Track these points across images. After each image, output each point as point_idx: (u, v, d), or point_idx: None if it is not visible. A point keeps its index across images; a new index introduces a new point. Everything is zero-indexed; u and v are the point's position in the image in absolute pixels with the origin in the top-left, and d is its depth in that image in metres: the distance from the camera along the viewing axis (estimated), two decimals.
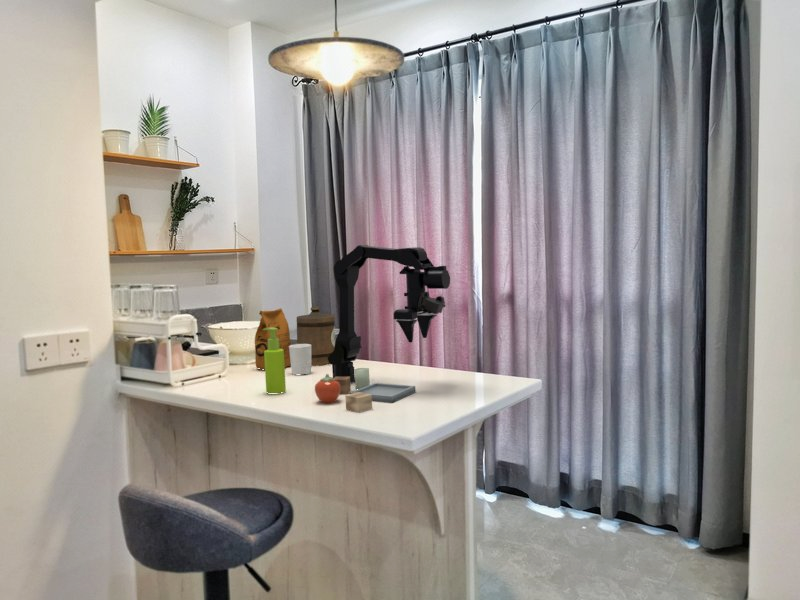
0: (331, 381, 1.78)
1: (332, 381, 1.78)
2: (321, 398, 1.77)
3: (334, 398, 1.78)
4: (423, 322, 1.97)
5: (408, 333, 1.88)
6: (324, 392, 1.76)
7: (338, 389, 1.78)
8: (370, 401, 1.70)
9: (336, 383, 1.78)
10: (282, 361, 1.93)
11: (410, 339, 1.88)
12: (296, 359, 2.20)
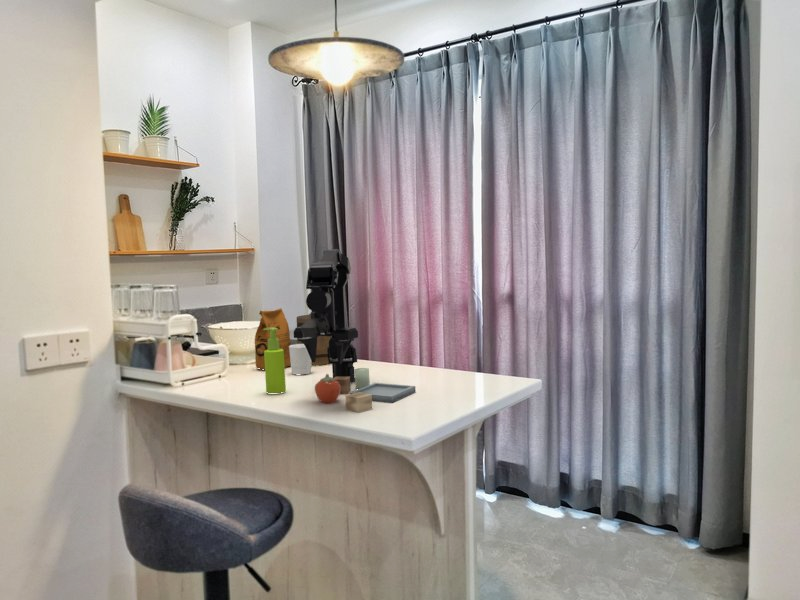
0: (331, 381, 1.78)
1: (332, 381, 1.78)
2: (321, 398, 1.77)
3: (334, 398, 1.78)
4: None
5: None
6: (324, 392, 1.76)
7: (338, 389, 1.78)
8: (370, 401, 1.70)
9: (336, 383, 1.78)
10: (282, 361, 1.93)
11: None
12: (296, 359, 2.20)
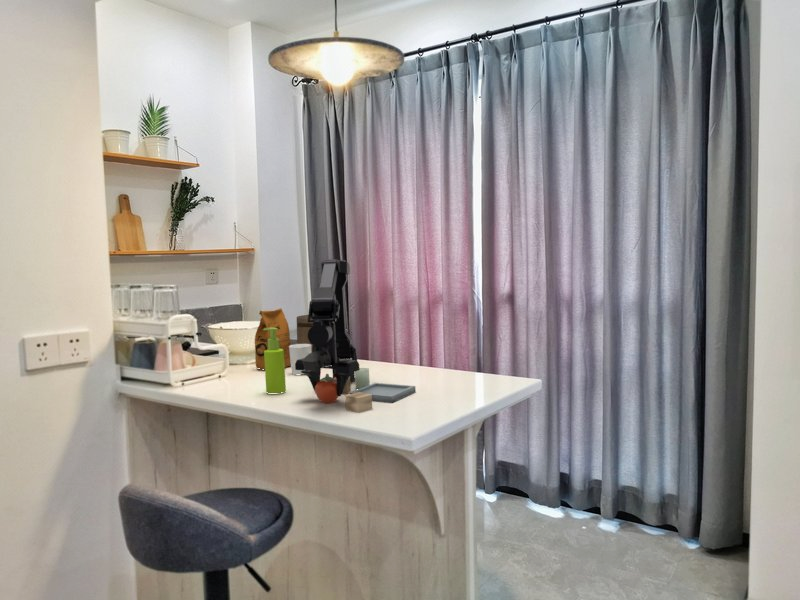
0: (331, 381, 1.78)
1: (332, 381, 1.78)
2: (321, 398, 1.77)
3: (334, 398, 1.78)
4: None
5: None
6: (324, 392, 1.76)
7: None
8: (370, 401, 1.70)
9: (336, 383, 1.78)
10: (282, 361, 1.93)
11: None
12: (296, 359, 2.20)
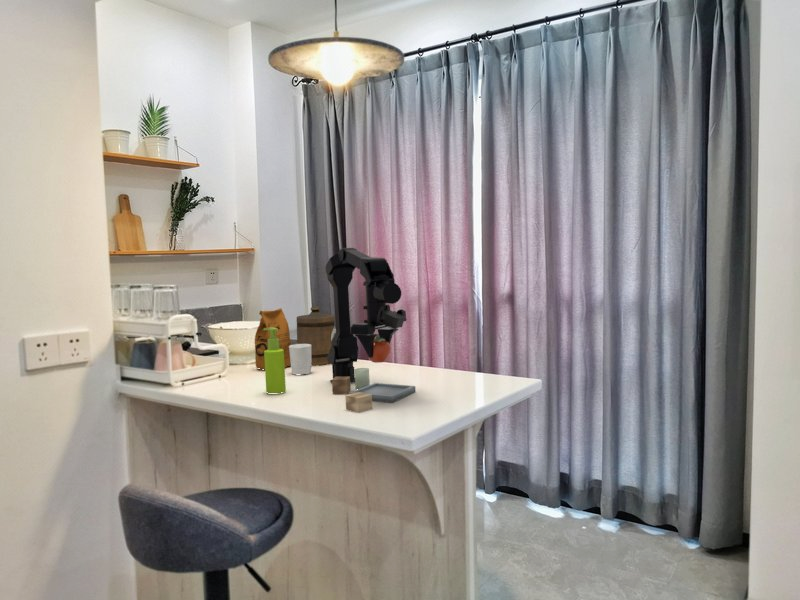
0: None
1: None
2: (386, 356, 1.82)
3: None
4: (384, 336, 1.87)
5: (368, 348, 1.80)
6: (390, 349, 1.83)
7: None
8: (370, 401, 1.70)
9: None
10: (282, 361, 1.93)
11: (370, 354, 1.80)
12: (296, 359, 2.20)
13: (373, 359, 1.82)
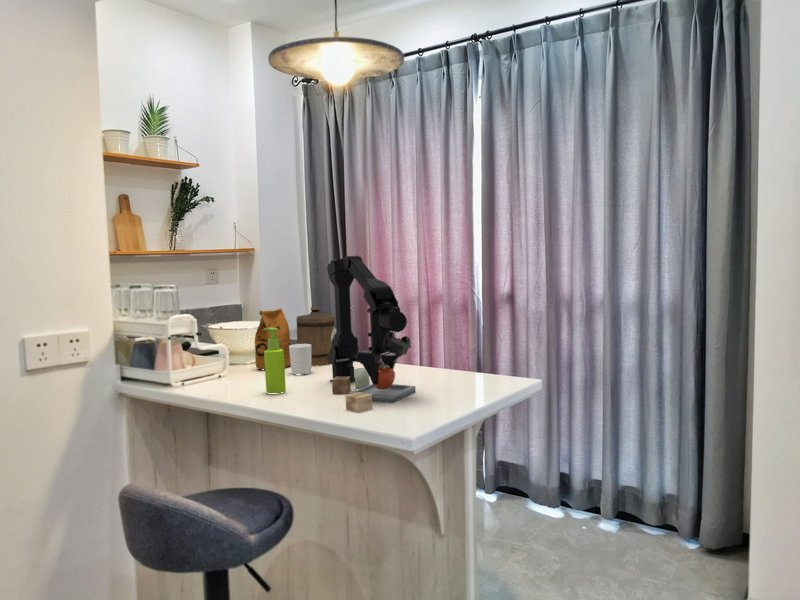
0: None
1: None
2: (391, 383, 1.83)
3: None
4: (387, 363, 1.88)
5: (373, 375, 1.81)
6: (394, 376, 1.84)
7: None
8: (370, 402, 1.70)
9: None
10: (282, 361, 1.93)
11: (375, 381, 1.81)
12: (296, 359, 2.20)
13: (378, 386, 1.83)
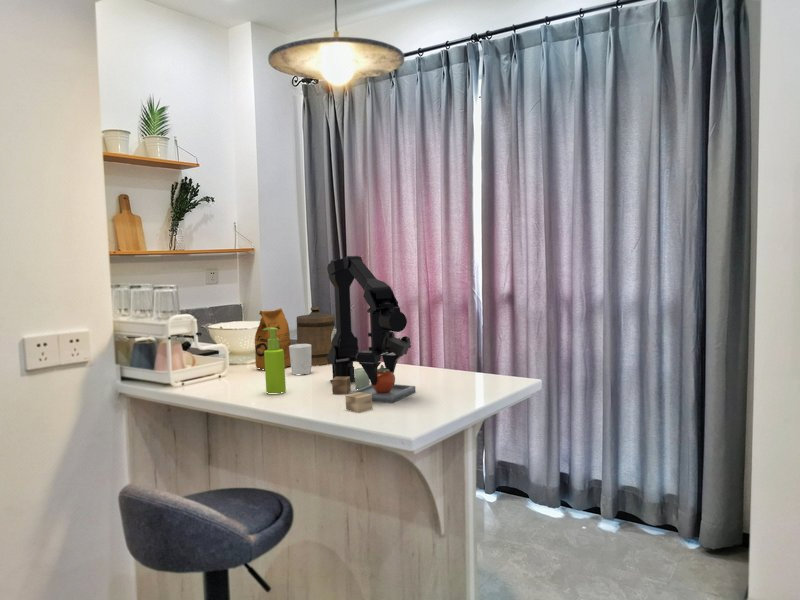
0: None
1: None
2: (391, 387, 1.83)
3: None
4: (389, 362, 1.89)
5: (371, 376, 1.80)
6: (394, 380, 1.84)
7: None
8: (370, 402, 1.70)
9: None
10: (282, 361, 1.93)
11: (374, 382, 1.80)
12: (296, 359, 2.20)
13: (378, 390, 1.83)
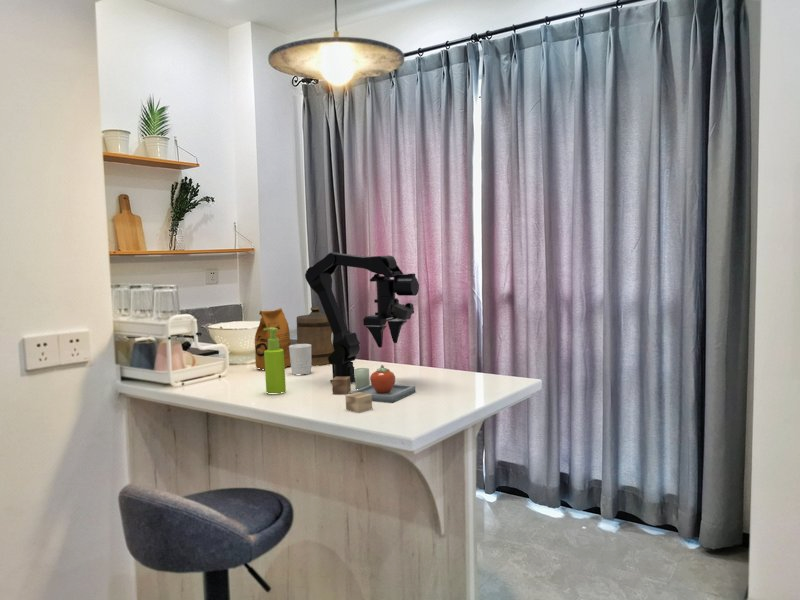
0: None
1: None
2: (391, 387, 1.83)
3: None
4: (394, 328, 2.03)
5: (378, 338, 1.94)
6: (394, 380, 1.84)
7: None
8: (370, 402, 1.70)
9: None
10: (282, 361, 1.93)
11: (380, 344, 1.95)
12: (296, 359, 2.20)
13: (378, 390, 1.83)
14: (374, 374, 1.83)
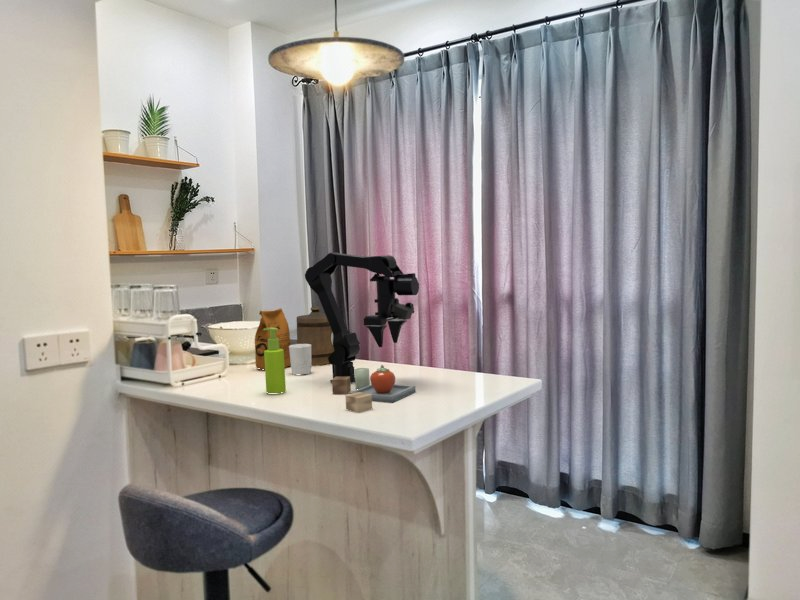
0: None
1: None
2: (391, 387, 1.83)
3: None
4: (394, 327, 2.03)
5: (378, 338, 1.94)
6: (394, 380, 1.84)
7: None
8: (370, 402, 1.70)
9: None
10: (282, 361, 1.93)
11: (380, 344, 1.95)
12: (296, 359, 2.20)
13: (378, 390, 1.83)
14: (374, 374, 1.83)
